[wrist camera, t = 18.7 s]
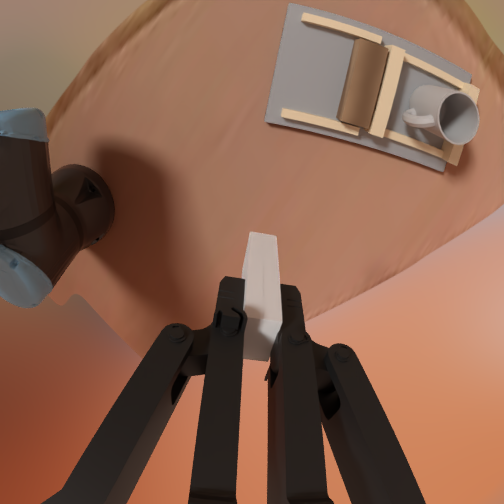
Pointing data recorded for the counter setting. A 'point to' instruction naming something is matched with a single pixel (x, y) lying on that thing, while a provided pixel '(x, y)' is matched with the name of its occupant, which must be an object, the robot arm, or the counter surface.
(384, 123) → the jig
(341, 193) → the counter surface
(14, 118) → the robot arm
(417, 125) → the cup
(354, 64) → the brown rounded bar
